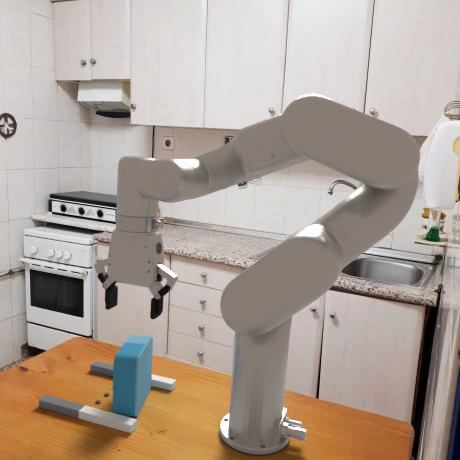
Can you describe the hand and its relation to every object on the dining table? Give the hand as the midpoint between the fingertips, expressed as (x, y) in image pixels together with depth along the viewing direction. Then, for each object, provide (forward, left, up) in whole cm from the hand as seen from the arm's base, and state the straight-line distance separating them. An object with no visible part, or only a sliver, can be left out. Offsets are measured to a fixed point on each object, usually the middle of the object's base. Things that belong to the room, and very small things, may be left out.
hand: (133, 312), depth 88 cm
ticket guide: (+5, 0, -19) cm, 19 cm away
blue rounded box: (0, 0, -19) cm, 19 cm away
